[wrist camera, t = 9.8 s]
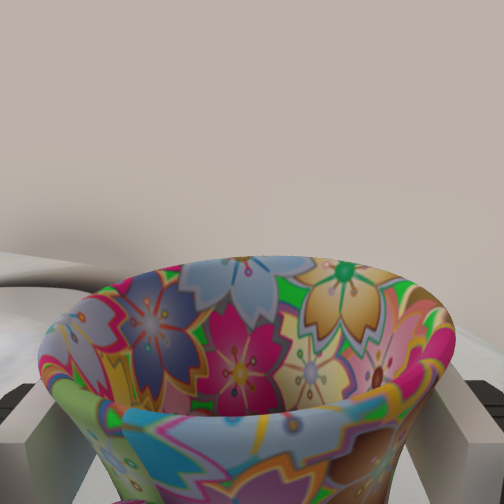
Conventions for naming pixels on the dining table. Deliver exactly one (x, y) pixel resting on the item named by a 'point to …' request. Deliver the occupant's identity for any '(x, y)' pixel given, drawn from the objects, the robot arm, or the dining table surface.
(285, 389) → the mug
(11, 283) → the dining table surface
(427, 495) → the robot arm
